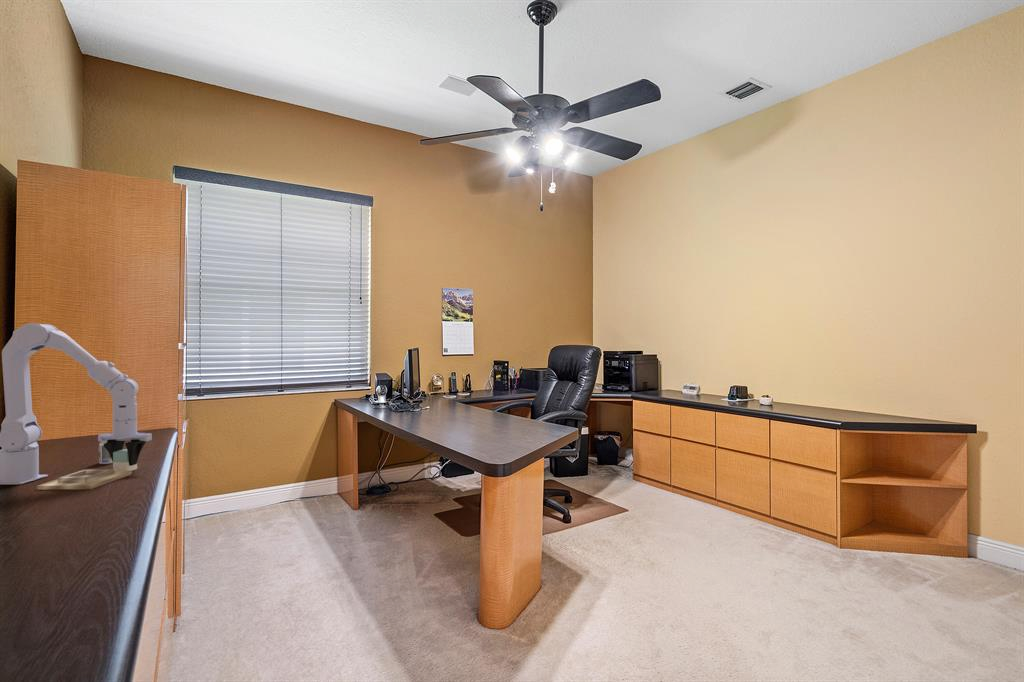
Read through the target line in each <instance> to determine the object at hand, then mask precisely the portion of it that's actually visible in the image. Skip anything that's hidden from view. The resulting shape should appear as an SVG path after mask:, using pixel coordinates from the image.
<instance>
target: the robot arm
mask: <svg viewBox="0 0 1024 682" xmlns="http://www.w3.org/2000/svg"><path fill="white" fill-rule="evenodd" d="M44 348H49V349H53V350H59V351H61V352H63V353H65V354H66V355H67V356H69V357H70V358H72V360H75V361H76V362H77V363H78V364H80V365H82V366H83V367H84V368H86V374H87V376H88V377H90V378H91V379H92V380H94V381H95V382H97V383H98V384H99V385H100V386H102V387H103V388H104V389H105V390H109V392H108V393H109V395H110V396H111V398H112V433H101V434H97V441H98V442H100V441H107V443H104V447H105V448H106V449H107V451H108V452H109V454H110V456H111V459H112V461H113V452H116V451H119V450H123V449H124V445H125V447H126V449H127V451H128V457H129V466H132V465H135V464H137V465H138V462H139V461H138V460H139V456H140V454H141V453H142V452H141V451H142V449H143V447H144V446H145V445H146V443H147V442H149V441H153V433H146V432H138V403H137V400H138V399H137V395H136V394H137V393H138V392H139V390H140V387H139V386H140V385H139V384H138V383H137V381H136V380H135V379H133V378H129V375H128V374H127V373H126V374H124V373H122V372H121V371H120V370H118V369H117V368H116V367H115V363H113V362H111V361H110V362H108V361H107V360H98V359H97V358H95V357H94V356H93V355H92V354H91V353H89V352H88V351H87V349H85V348H83V347H82V346H81V345H80V344H78V342H76V341H75V340H74V339H73V338H72V337H70V336H69V335H68V334H66V333H65V332H64V331H63V330H59V329H58V328H57V327H56V326H55V325H53V324H49V323H42V324H41V323H36V322H35V323H34V322H29V323H25V324H23V325H22V326H20V327H18V328H16V329H15V330H13V332H12V336H11V338H10V339H9V340H8V342H7V343H6V344H5V346H4V347H3V349H2V350H1V364H2V377H3V391H4V392H3V393H4V406H5V417H4V418H3V421H2V423H1V424H0V426H1V429H0V447H1V449H0V485H23V484H26V483H30V482H34V481H36V480H40V479H43V478H47V477H48V476H49V474H40V471H39V470H40V469H39V468H40V457H39V456H40V455H39V453H40V452H39V451H40V450H39V449H40V448H39V446H40V445H39V444H38V441H40V439H41V437H42V435H43V430H42V428H41V426H40V425H39V424H38V418H37V416H36V415H35V413H34V412H33V402H32V399H33V398H32V385H31V370H30V368H31V367H30V357H32V356H33V355H35V353H37V352H38V351H40V350H42V349H44ZM127 441H128V442H127Z"/></svg>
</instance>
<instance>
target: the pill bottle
mask: <svg viewBox="0 0 1024 682" xmlns="http://www.w3.org/2000/svg"><path fill="white" fill-rule="evenodd" d="M104 443H107V441H99V444H98V463H99V465H108V464H109V465H110V464H113V461H112V459H111V456H110V454H109V452H108V451H107V449H106V448H105V447H104Z"/></svg>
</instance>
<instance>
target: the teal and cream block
mask: <svg viewBox="0 0 1024 682" xmlns="http://www.w3.org/2000/svg"><path fill="white" fill-rule="evenodd" d="M112 469H114V471H132V472H133V471H134V470H137V469H138V463H137V464H135V465H132V466H129V457H128V451H127V448H125V449H124V448H123V450H119V451H116V452H113V463H112Z"/></svg>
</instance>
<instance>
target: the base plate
mask: <svg viewBox="0 0 1024 682" xmlns="http://www.w3.org/2000/svg"><path fill="white" fill-rule="evenodd" d="M132 474H133V470H132V471H114V469H113V468H111V469H110V468H109V469H107V468H103V469H101V468H100V469H94V468H93V469H92V468H91V469H82V470H79V471H76V472H72V473H69V474H66V475H63V476H59V477H57V478H56V479H53V480H51V481H48V482H45V483H41V484H39V485H36V491H37V490H93V489H95V488H98V487H101V486H104V485H106V484H109V483H112V482H114V481H119V480H120V479H123V478H126V477H127V476H128V477H129V476H131V475H132Z"/></svg>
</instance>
